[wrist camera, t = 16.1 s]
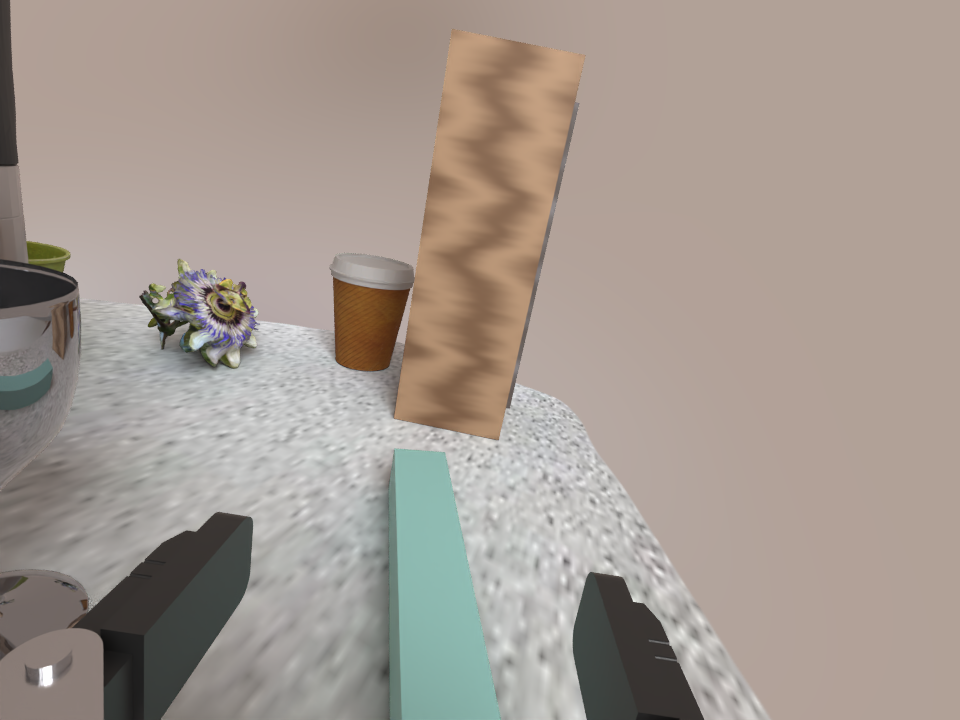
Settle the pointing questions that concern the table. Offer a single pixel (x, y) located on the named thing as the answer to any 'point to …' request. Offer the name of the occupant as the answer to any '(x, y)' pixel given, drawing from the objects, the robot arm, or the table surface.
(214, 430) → the table surface
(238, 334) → the passion flower
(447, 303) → the tall wooden pillar block
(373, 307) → the disposable coffee cup
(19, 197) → the robot arm
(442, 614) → the rail
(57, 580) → the wine glass
